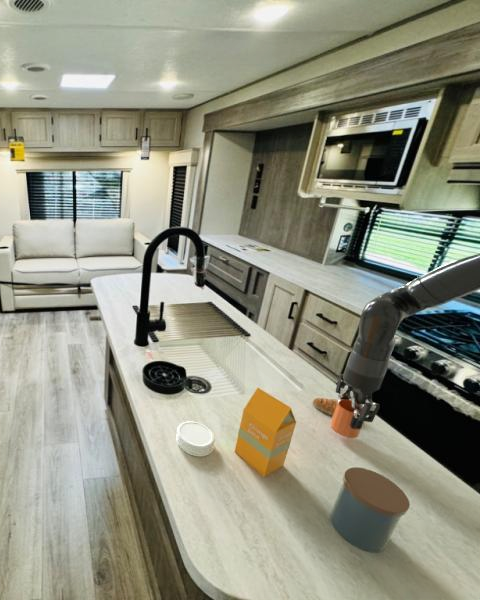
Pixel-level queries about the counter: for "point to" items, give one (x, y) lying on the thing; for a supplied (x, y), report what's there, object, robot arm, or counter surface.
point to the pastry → (325, 405)
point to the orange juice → (265, 432)
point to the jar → (368, 509)
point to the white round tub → (195, 438)
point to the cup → (344, 419)
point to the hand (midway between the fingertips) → (347, 418)
